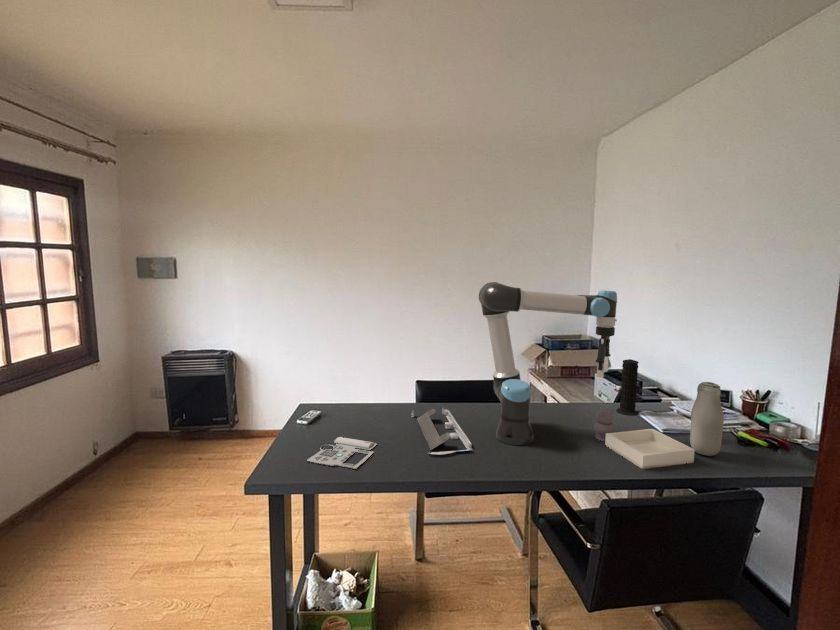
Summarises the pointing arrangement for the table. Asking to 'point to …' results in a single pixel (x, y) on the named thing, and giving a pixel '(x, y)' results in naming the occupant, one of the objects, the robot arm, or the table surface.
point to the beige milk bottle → (707, 420)
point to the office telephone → (343, 452)
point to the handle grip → (628, 388)
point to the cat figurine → (604, 424)
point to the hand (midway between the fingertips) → (602, 373)
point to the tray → (649, 448)
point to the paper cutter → (436, 440)
